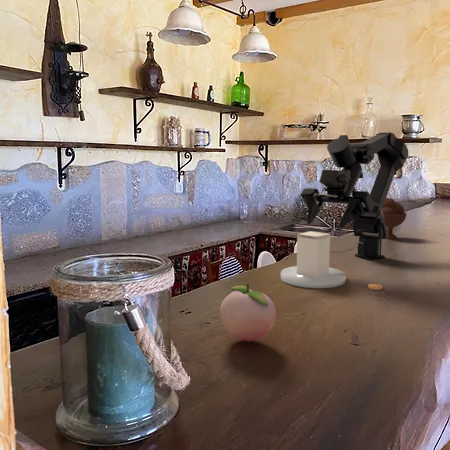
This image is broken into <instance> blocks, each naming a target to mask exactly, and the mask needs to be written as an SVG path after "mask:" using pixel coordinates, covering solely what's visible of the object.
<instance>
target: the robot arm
mask: <svg viewBox="0 0 450 450" xmlns="http://www.w3.org/2000/svg"><path fill="white" fill-rule="evenodd" d="M326 148H327V152H328V154H329V156H330V158H331V160H332V162H333V165H334V167H336V168H338V169H337V170H336V169H322V170H321V174H320V178H319V181H318V182H319V183H320V184H322V185H324V187H323V189H324V192H326V193H321V192H320V191H319V189H318V188H307V187H305V188H303V189H302V191H301V193H300V197H301V198H302V200H303V202H304V204H305V206H306V207H307V218H306V222H307V224H308V225H311V224H312V223H313V222H314V221H315V219H316V218H317V216H318V214H319V213H320V211H321V209H320V208H322V206H323V204H324V203H331V204H335V205H345V206H347V207H346V209H345V211H344V212H343V216H342V218H341V219H340V223H339V226H338V227H339V228H340V229H342V228H344V227H346V226H348V225H349V224H350V223H351V222H352V229H353V236H354V237H358V242H357V253H354V256H355V257H359V258H363V259H366V260H376V259H382V258H385V257H386V256H385V255H383V254H382V240H388V239H387V235H388V228H387V227H386V225H385V222H384V220H385V218H384V215H383V212H382V208H383V206H384V203H385V200H386V198H388V194H389V191H390V188H391V185H392V182H393V180H394V178H395V177H394V176H395V174H396V172H398V171H399V170H401V169H402V168H403V167H404V165H405V162H407V161H406V160H407V159H408V158H409V149H408V146H407V145H406V143H405V142H404V141H403V140H401V139H400V138H398V137H397V136H396V135H395V133H394V132H389V131H388V132H378V133H376V134H375V135H374V136H372V137H370V138H368V139H366V140H363V141H362V142H353V143H350V139H349V136H348V134H340V135H339V137H337V138H334V139H333V140H332V141H330V142H329V143H328V144H327V146H326ZM375 155H376V156H377V159H378V163H379V168H378V172H377V173H376V177H375V180H374V182H373V185H372V188H371V191H370V192H369V191H368V190H367V191H365V190H357V189H356V185H357V183H358V180H359V179H363V178H364V173H363V168H362V165H369V164H370V163H372V161H373V160H375Z"/></svg>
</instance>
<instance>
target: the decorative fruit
mask: <svg viewBox="0 0 450 450" xmlns="http://www.w3.org/2000/svg"><path fill="white" fill-rule="evenodd" d="M219 313H220V318H221V319H220V320H221V322H222V324H223V326H224V328H225V330H227V331H228V332H229V333H230V334H232V335H234V336H235V337H237V338H239V339H242V340H245V341H246V343H249V342H254V341H256V340H258V339H261V338H262V337H264V336H265V335H267V334H268V333H269V332H270V330H271V329H272V327H273V326H274V324H275V322H276V317H277V309H276V307H275V304H274V302H273V300H272V299H271V298H270V297H269V296H268V295H266V294H264V293H262V292H260V291H255V290H252V289H250V284H249V283H247V284H246V286H245V285H238V286H237V285H235V286H233V287H232V288H231V292H230V293H229V294H228V295H227V296H226V297H224V299H223V301H222V302H221V305H220V309H219Z"/></svg>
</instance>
